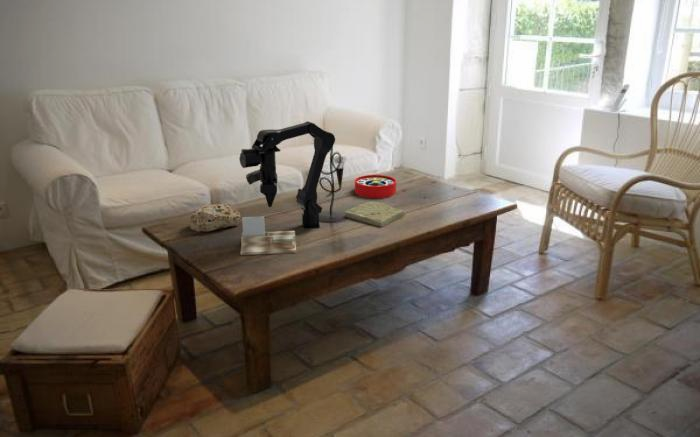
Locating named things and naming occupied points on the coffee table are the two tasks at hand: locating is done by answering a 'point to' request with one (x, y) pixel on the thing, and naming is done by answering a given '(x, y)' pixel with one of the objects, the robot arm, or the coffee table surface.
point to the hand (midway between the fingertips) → (270, 203)
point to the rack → (264, 244)
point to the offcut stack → (282, 242)
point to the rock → (214, 217)
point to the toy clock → (375, 186)
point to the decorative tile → (374, 213)
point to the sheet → (253, 226)
